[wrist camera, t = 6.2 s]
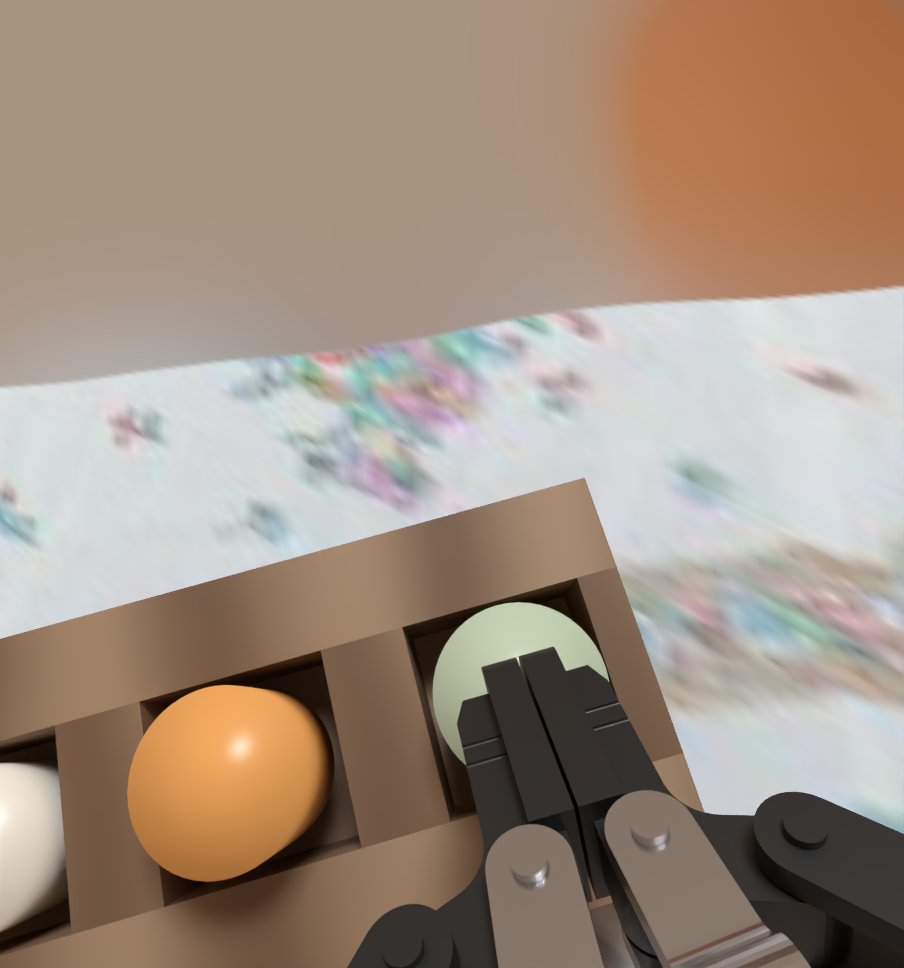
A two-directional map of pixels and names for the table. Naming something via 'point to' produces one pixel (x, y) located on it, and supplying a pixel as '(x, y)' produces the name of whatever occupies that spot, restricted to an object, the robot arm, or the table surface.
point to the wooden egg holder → (343, 710)
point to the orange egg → (228, 780)
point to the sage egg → (502, 655)
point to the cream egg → (30, 841)
